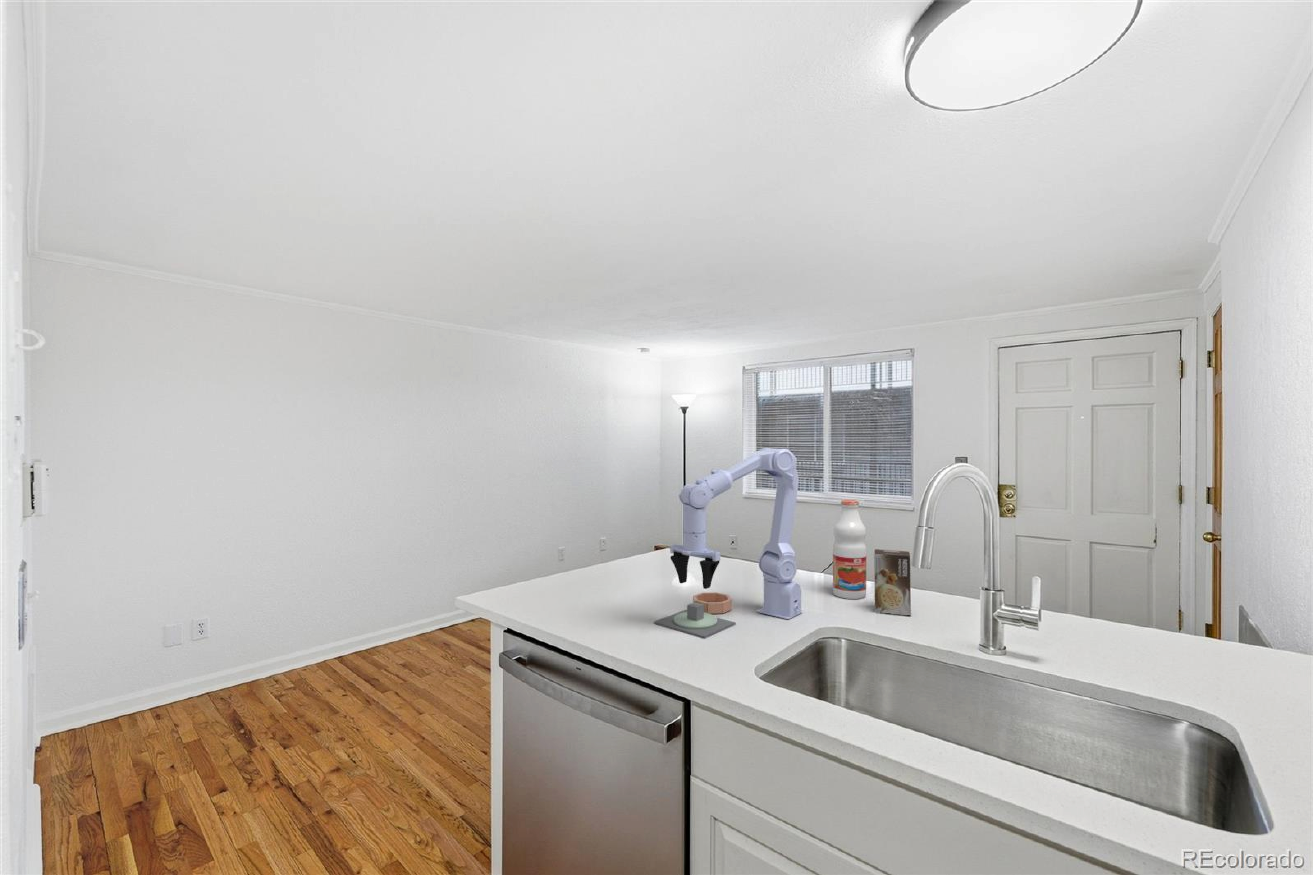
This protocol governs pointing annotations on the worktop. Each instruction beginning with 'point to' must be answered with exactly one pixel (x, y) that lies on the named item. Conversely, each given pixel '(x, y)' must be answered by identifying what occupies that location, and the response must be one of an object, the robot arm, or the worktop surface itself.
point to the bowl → (714, 602)
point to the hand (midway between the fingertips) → (694, 585)
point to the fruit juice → (849, 553)
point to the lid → (695, 618)
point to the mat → (701, 633)
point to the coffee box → (892, 582)
